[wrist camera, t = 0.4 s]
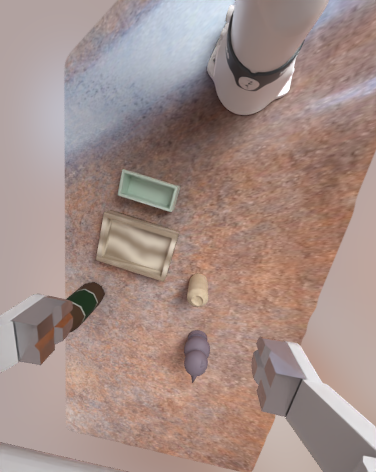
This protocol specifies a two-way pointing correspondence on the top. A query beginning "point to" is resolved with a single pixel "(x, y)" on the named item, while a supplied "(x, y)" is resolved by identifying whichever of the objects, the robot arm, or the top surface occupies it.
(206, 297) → the candle
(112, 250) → the box
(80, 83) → the top surface
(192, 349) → the cat figurine
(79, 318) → the beer bottle
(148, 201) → the green crate
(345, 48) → the top surface
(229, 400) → the top surface
